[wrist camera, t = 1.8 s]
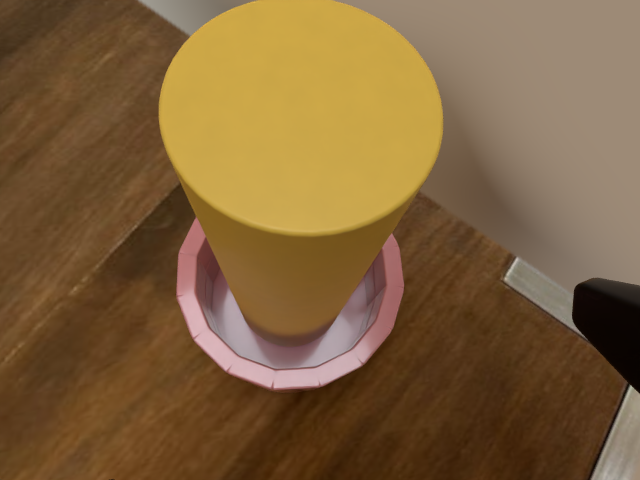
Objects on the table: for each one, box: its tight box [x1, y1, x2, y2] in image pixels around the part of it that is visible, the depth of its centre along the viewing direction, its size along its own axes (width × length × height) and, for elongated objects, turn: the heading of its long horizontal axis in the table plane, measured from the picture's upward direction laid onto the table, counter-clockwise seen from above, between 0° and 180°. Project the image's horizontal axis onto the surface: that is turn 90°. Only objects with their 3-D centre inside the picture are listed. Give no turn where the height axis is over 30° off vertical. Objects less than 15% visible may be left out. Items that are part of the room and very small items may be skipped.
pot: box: [176, 217, 404, 393], centre depth 17 cm, size 7×7×6 cm
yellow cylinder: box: [159, 0, 443, 347], centre depth 12 cm, size 4×4×12 cm
